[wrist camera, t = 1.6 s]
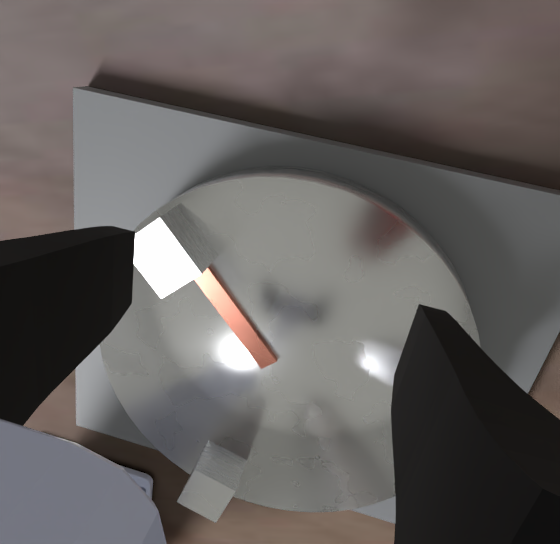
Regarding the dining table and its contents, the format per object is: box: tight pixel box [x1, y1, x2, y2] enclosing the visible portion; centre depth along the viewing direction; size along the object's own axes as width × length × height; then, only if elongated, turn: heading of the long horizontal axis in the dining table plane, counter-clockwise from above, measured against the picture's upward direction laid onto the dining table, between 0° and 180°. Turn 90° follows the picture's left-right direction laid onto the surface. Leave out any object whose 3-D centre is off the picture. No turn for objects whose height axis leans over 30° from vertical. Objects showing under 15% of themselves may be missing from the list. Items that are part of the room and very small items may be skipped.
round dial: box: [100, 166, 481, 523], centre depth 20 cm, size 16×16×4 cm
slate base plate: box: [73, 86, 560, 523], centre depth 22 cm, size 18×21×1 cm
